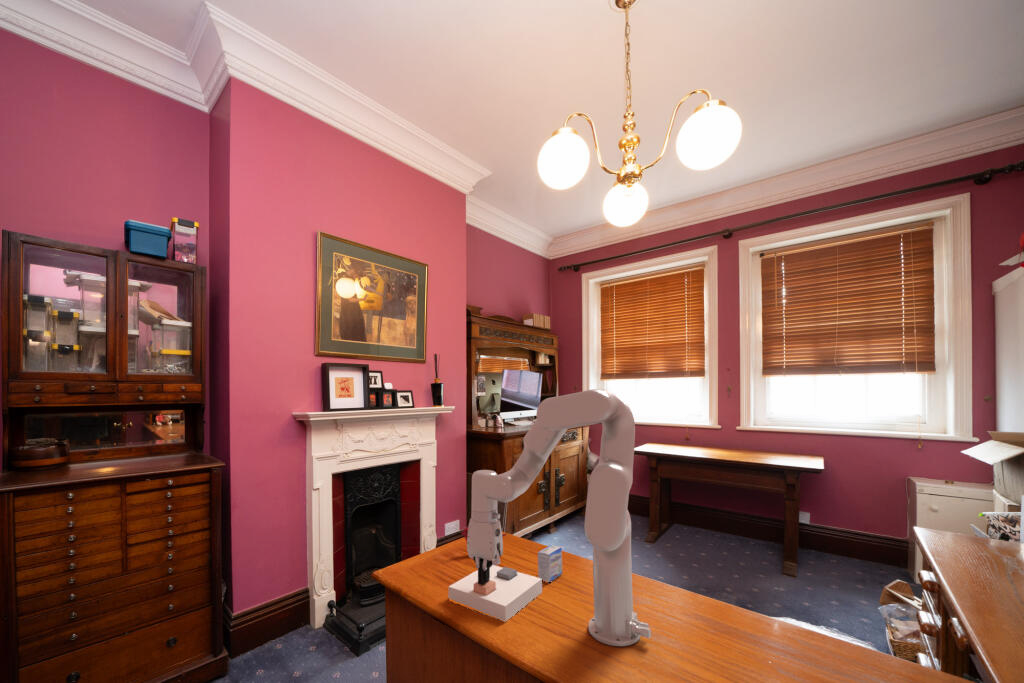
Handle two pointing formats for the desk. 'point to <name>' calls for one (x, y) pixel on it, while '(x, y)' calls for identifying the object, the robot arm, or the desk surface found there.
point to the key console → (497, 593)
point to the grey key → (506, 573)
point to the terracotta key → (485, 588)
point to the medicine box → (550, 563)
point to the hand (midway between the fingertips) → (483, 582)
